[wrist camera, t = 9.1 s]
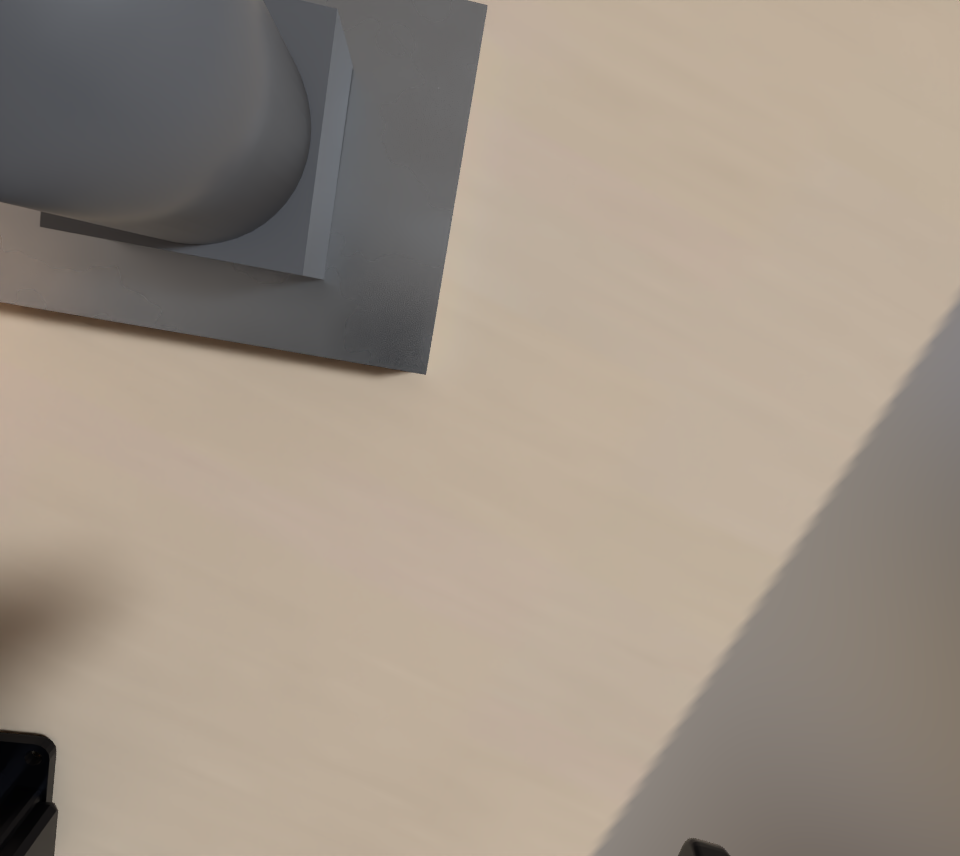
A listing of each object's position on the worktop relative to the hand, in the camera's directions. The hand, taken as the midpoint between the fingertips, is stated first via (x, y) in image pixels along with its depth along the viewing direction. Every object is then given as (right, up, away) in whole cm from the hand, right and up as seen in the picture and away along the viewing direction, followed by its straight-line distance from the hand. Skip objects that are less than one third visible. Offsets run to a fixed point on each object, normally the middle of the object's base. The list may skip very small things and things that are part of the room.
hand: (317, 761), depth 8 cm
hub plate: (-5, +12, +11) cm, 17 cm away
